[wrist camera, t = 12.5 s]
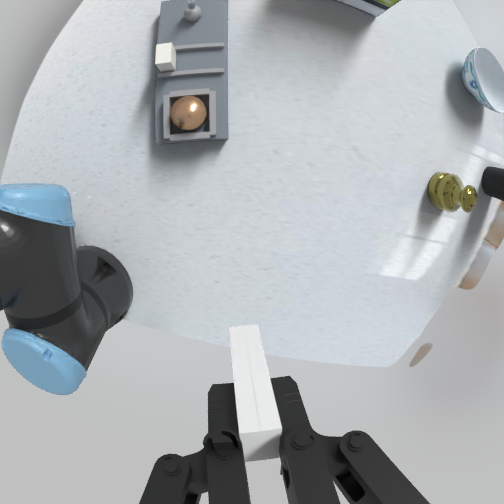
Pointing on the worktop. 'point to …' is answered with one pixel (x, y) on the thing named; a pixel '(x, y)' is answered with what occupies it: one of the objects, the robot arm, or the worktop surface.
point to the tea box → (371, 5)
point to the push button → (188, 113)
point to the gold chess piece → (451, 193)
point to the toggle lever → (191, 4)
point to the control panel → (194, 68)
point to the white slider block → (165, 57)
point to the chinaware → (484, 78)
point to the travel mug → (494, 182)
